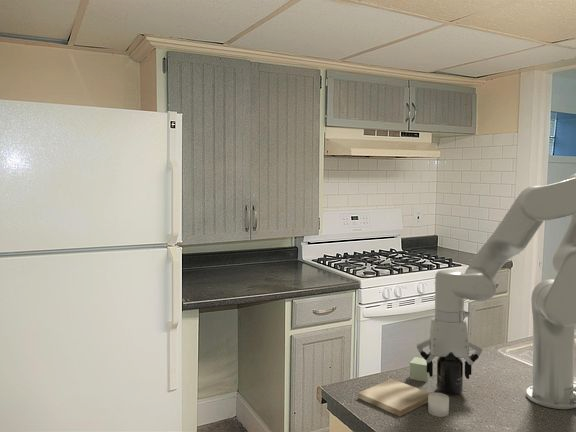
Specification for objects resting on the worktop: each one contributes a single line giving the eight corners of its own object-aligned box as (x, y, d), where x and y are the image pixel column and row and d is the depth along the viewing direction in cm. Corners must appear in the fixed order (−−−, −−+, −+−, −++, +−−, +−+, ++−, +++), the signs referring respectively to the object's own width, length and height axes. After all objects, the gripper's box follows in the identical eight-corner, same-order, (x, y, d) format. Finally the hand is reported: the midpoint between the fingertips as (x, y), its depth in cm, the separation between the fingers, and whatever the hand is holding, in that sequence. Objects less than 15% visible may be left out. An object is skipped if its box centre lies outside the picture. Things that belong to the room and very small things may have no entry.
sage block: (431, 376, 146) (431, 359, 146) (426, 382, 142) (426, 365, 142) (414, 373, 149) (414, 357, 149) (409, 379, 145) (409, 362, 144)
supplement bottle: (464, 396, 132) (464, 353, 131) (438, 395, 133) (438, 352, 132) (460, 386, 138) (460, 344, 138) (435, 384, 140) (435, 343, 139)
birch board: (432, 399, 131) (432, 393, 131) (400, 416, 122) (400, 410, 122) (391, 383, 142) (391, 378, 141) (358, 398, 133) (358, 392, 133)
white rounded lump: (452, 412, 123) (452, 397, 123) (441, 419, 120) (441, 403, 120) (435, 405, 127) (435, 390, 127) (424, 412, 124) (424, 396, 124)
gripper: (479, 312, 136) (478, 372, 138) (415, 310, 140) (415, 369, 141) (485, 320, 129) (484, 383, 130) (417, 318, 132) (417, 379, 133)
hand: (448, 376), depth 136 cm, fingers open, 9 cm apart
